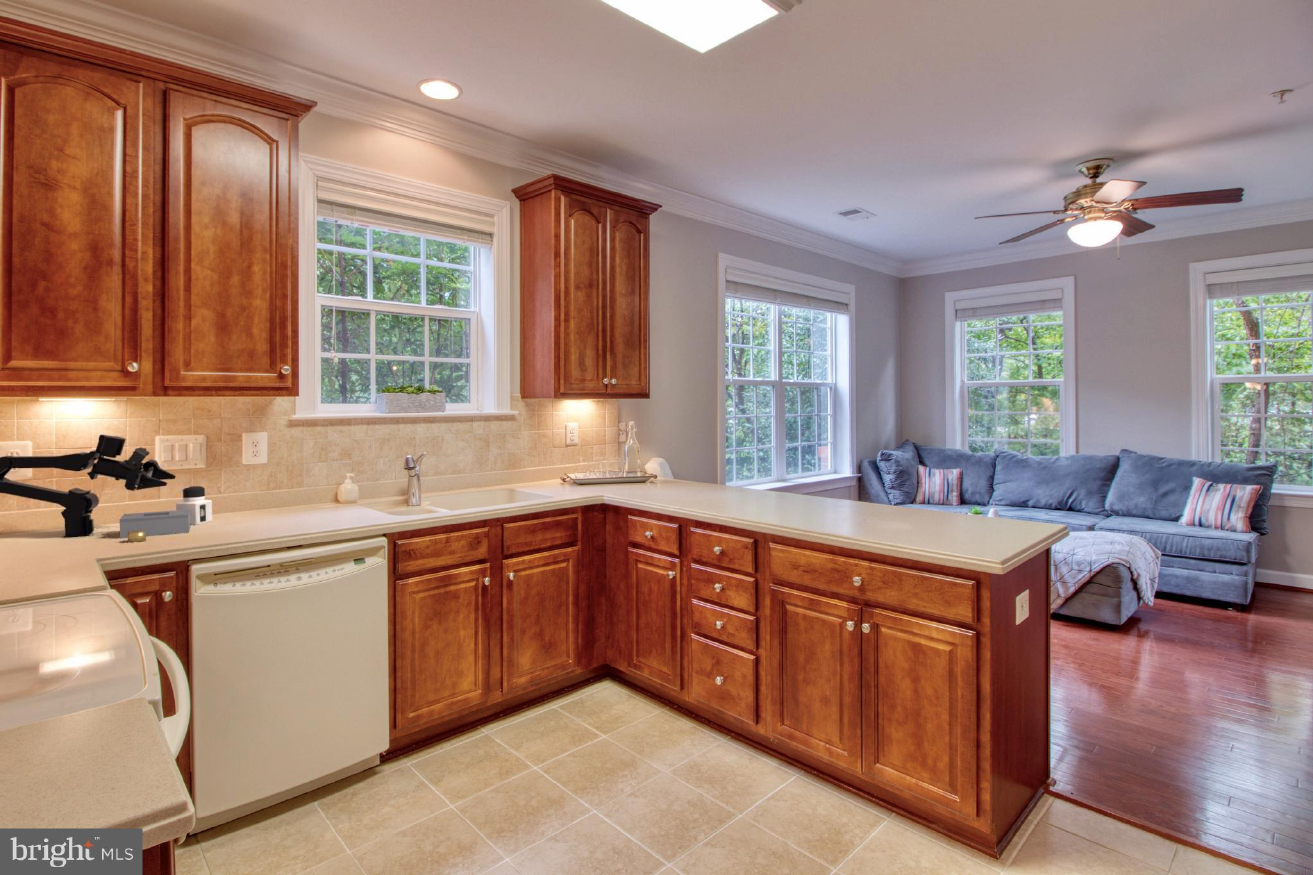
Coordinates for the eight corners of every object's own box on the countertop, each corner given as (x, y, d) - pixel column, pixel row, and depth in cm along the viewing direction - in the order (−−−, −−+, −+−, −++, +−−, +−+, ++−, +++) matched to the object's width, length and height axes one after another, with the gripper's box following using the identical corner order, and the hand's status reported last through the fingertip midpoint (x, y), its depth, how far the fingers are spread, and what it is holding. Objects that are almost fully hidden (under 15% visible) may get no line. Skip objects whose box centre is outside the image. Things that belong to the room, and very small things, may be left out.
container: (212, 521, 248) (211, 485, 248) (196, 525, 241) (195, 488, 240) (193, 520, 249) (191, 485, 248) (176, 524, 242) (174, 487, 241)
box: (120, 538, 218) (119, 519, 218) (124, 531, 228) (124, 513, 228) (188, 532, 228) (188, 514, 227) (190, 526, 238) (189, 509, 237)
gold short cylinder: (127, 543, 211) (126, 533, 211) (128, 540, 215) (128, 531, 214) (145, 542, 213) (145, 532, 213) (146, 539, 217) (146, 530, 217)
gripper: (111, 452, 216) (168, 464, 222) (132, 440, 233) (185, 452, 239) (102, 485, 217) (159, 496, 223) (124, 471, 234) (177, 482, 240)
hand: (171, 480), depth 231 cm, fingers open, 9 cm apart
